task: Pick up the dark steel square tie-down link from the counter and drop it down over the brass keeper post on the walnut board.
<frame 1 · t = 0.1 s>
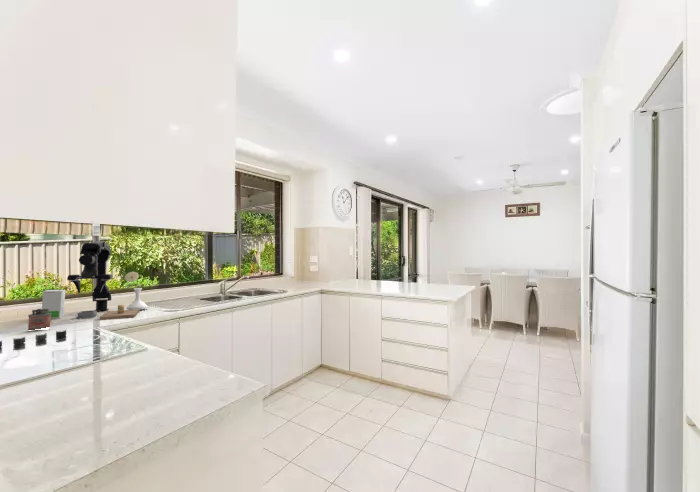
hand: (89, 292, 177), 14 cm above the worktop, fingers open, 9 cm apart
keeper board: (120, 315, 186), on the worktop
lighter: (39, 330, 149), on the worktop
flower in vase: (135, 310, 205), on the worktop
skincare box: (52, 318, 177), on the worktop
steel link: (87, 317, 180), on the worktop
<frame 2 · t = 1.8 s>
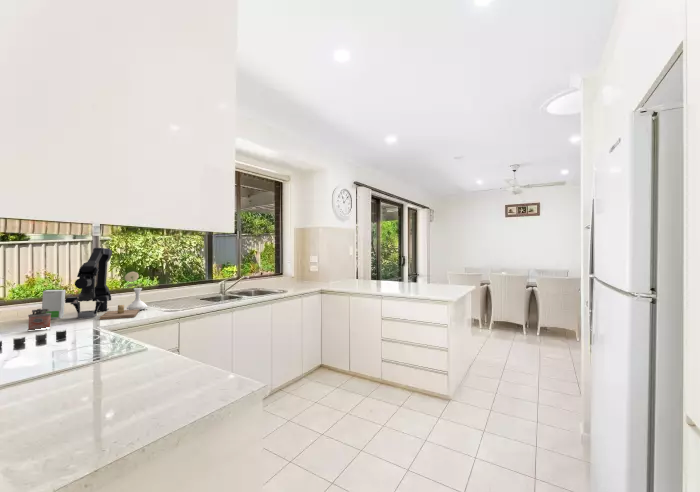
hand: (87, 314, 180), 2 cm above the worktop, fingers closed on steel link, 7 cm apart
steel link: (87, 317, 180), on the worktop, touching gripper
everything else where it was.
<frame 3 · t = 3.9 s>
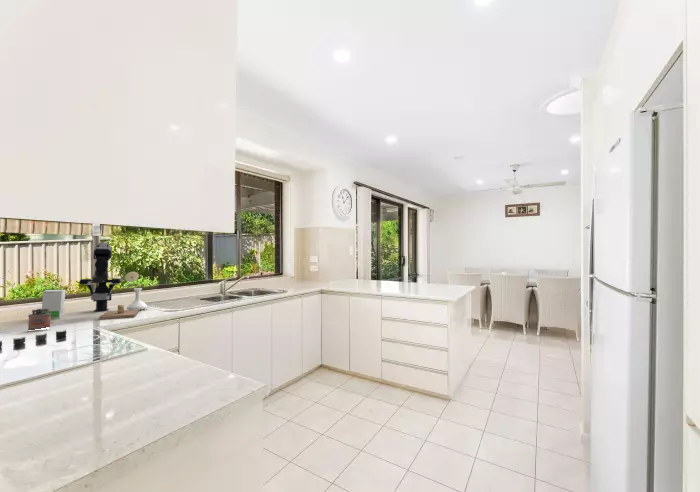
hand: (100, 296, 183), 12 cm above the worktop, fingers closed on steel link, 7 cm apart
steel link: (100, 299, 183), point 10 cm above the worktop, touching gripper
everything else where it was.
when the fingers open (5 cm above the worktop, at t = 6.2 s): steel link drops 2 cm, resting on keeper board.
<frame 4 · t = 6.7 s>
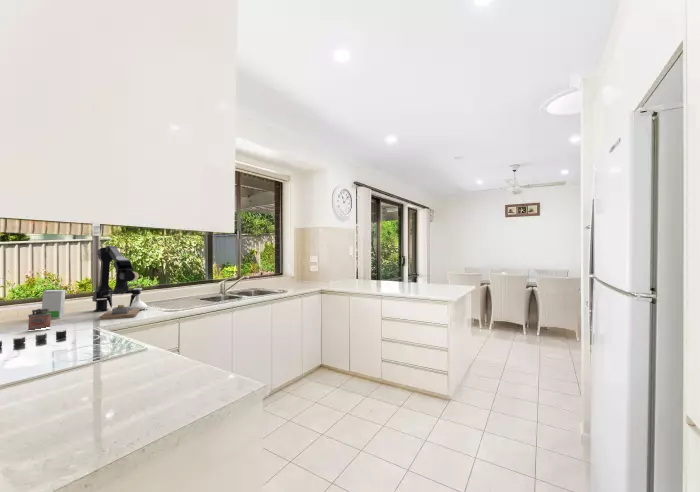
hand: (120, 306, 186), 5 cm above the worktop, fingers open, 9 cm apart
steel link: (120, 312, 186), point 1 cm above the worktop, touching keeper board
everything else where it was.
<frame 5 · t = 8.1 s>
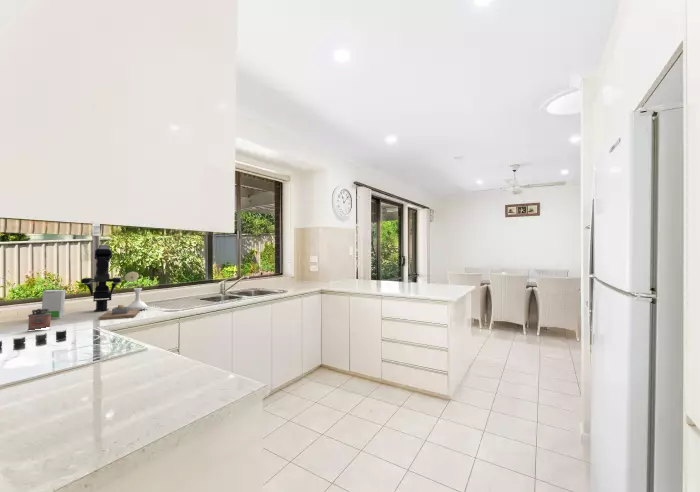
hand: (101, 294, 189), 12 cm above the worktop, fingers open, 9 cm apart
nothing on the worktop moved.
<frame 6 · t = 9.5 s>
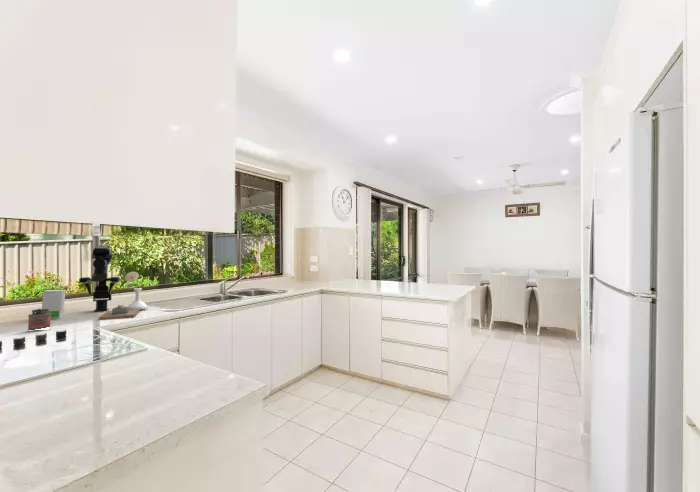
hand: (99, 294, 189), 12 cm above the worktop, fingers open, 9 cm apart
nothing on the worktop moved.
at the end: steel link 0.1 cm from the keeper board (horizontally); steel link point 1.5 cm above the worktop; the gripper is holding nothing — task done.
